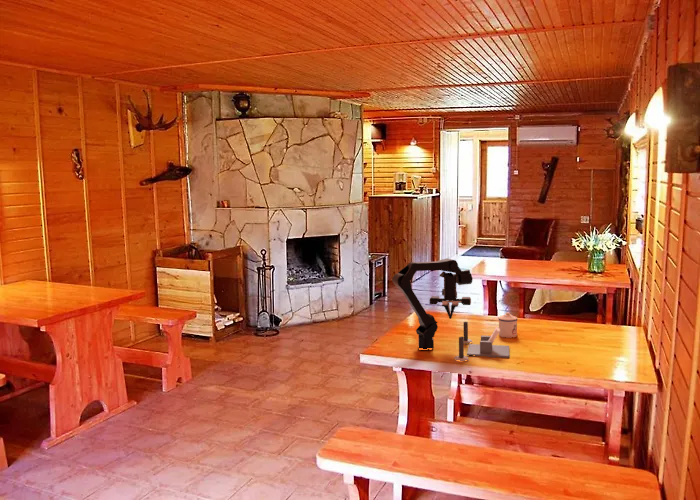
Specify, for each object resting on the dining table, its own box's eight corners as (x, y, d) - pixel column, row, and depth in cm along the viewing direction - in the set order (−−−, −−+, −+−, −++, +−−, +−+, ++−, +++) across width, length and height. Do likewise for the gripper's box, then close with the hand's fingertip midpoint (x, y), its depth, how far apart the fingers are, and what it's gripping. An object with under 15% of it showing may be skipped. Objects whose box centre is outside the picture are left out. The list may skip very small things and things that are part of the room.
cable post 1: (455, 362, 247) (454, 339, 246) (453, 357, 253) (453, 335, 252) (469, 362, 246) (469, 339, 245) (467, 357, 252) (467, 335, 251)
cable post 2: (460, 344, 273) (459, 323, 272) (458, 340, 279) (458, 320, 278) (472, 344, 273) (472, 323, 272) (471, 340, 279) (471, 320, 278)
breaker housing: (467, 356, 255) (466, 342, 254) (469, 346, 270) (469, 333, 269) (509, 358, 250) (509, 344, 249) (509, 347, 265) (509, 335, 265)
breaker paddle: (484, 348, 257) (496, 329, 255) (485, 344, 263) (496, 326, 261) (488, 350, 257) (499, 331, 255) (488, 346, 263) (499, 328, 260)
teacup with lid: (515, 338, 280) (516, 315, 279) (496, 337, 284) (496, 314, 283) (519, 332, 291) (519, 310, 290) (500, 331, 295) (500, 308, 293)
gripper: (471, 283, 273) (471, 315, 275) (432, 282, 278) (432, 314, 280) (470, 287, 263) (470, 320, 265) (429, 286, 268) (429, 319, 269)
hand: (450, 318), depth 270 cm, fingers closed
